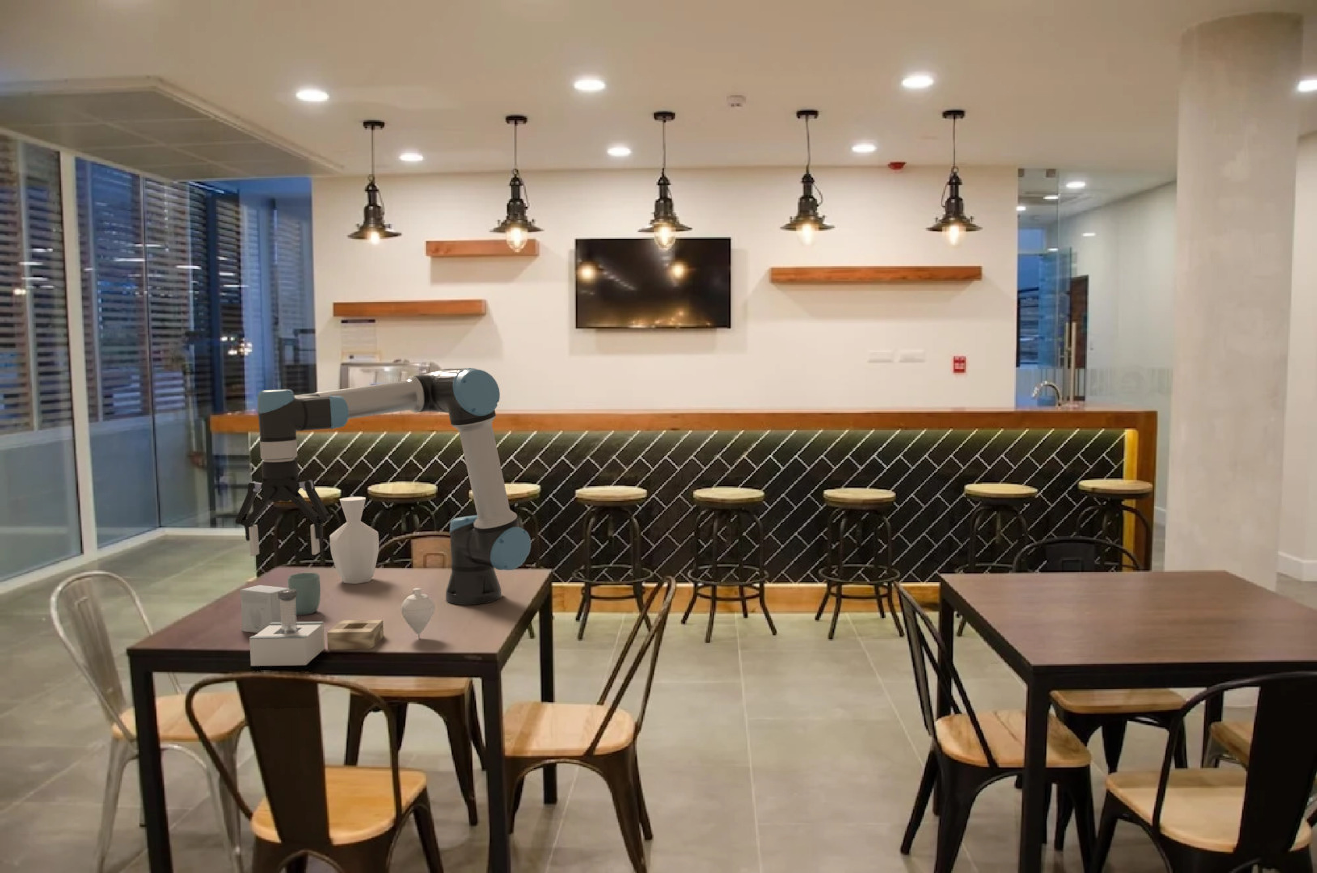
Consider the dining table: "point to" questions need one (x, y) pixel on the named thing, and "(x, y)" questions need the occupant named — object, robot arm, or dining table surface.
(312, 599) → the cup
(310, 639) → the socket
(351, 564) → the vase
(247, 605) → the skincare box
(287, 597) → the pin
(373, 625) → the mount
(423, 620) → the spinning top
